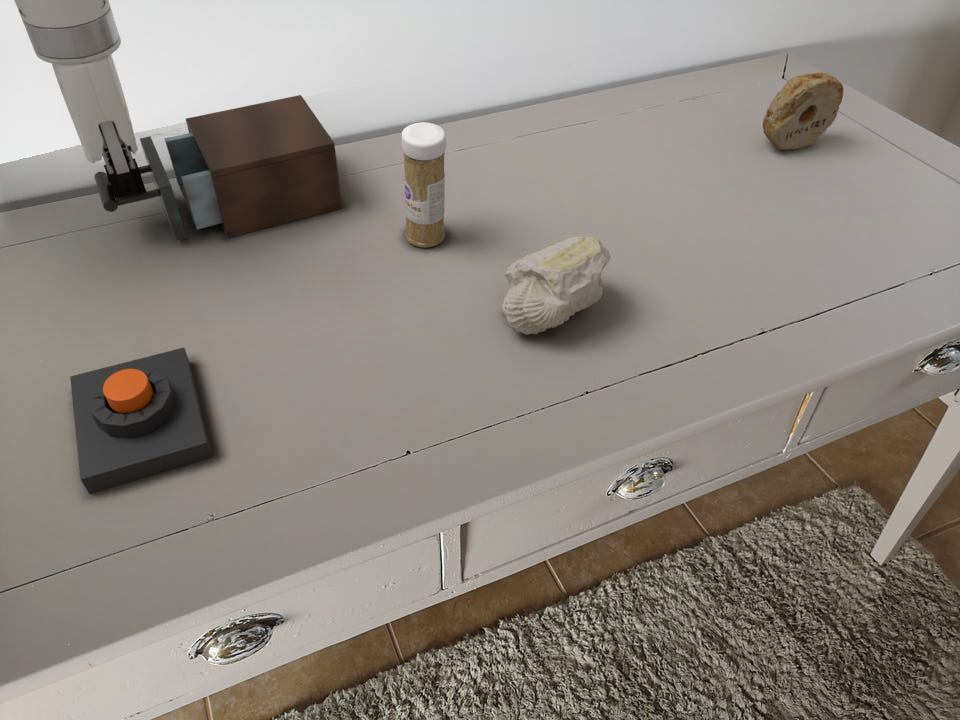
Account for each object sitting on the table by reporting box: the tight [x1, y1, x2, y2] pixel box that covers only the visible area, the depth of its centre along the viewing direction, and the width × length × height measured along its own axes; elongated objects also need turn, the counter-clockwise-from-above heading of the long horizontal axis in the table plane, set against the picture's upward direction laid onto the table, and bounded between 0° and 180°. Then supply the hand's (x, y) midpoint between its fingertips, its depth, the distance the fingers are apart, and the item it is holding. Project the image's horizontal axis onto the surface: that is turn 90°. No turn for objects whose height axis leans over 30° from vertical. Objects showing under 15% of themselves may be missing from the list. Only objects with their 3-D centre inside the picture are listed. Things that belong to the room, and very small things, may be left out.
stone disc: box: [762, 72, 844, 151], centre depth 102 cm, size 10×4×10 cm, turn 111°
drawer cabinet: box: [185, 94, 343, 239], centre depth 90 cm, size 14×12×9 cm
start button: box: [103, 369, 153, 413], centre depth 66 cm, size 4×4×2 cm
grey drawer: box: [93, 132, 223, 242], centre depth 87 cm, size 18×10×7 cm, turn 117°
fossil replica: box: [501, 236, 611, 335], centre depth 78 cm, size 12×8×10 cm
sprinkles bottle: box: [401, 121, 447, 249], centre depth 84 cm, size 5×5×13 cm
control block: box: [69, 347, 213, 494], centre depth 68 cm, size 12×10×4 cm
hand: (131, 196), depth 85 cm, fingers closed
